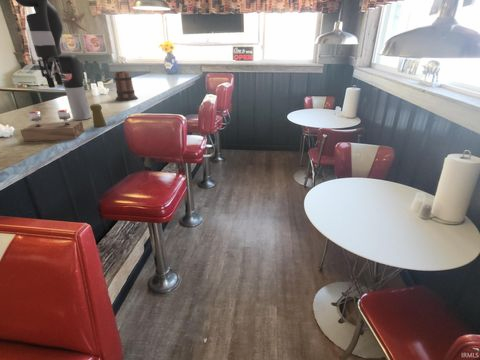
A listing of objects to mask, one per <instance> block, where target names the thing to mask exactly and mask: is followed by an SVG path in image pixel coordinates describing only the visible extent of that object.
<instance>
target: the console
mask: <svg viewBox="0 0 480 360" xmlns="http://www.w3.org/2000/svg"><path fill="white" fill-rule="evenodd" d="M39 124H40V127H37V126H36V123H35V122H34V123H33V124H30V125H28V126H26V127H24V128H22V129H20V133H21V136H22V139H23V142H25V143H26V142H38V141H39V142H41V141H42V142H44V141H58V139H61V140H75V139H77V138H78V137H80V136H81V135H82V134H83V133H84V132H85V128H84V124H83V121H82V120H76V121H68V124H69V125H66V126H65V123H64V121H61V122H60V121H59V122H39Z"/></svg>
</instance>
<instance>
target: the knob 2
mask: <svg viewBox="0 0 480 360" xmlns="http://www.w3.org/2000/svg"><path fill="white" fill-rule="evenodd" d="M57 114H58V118H59V120H63V122H64V123H65V126H66V125H69V124H68V122H69V121H68V119H71V114H70V110H68V109H60V110H59V109H58V111H57Z"/></svg>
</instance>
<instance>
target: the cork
mask: <svg viewBox="0 0 480 360" xmlns="http://www.w3.org/2000/svg"><path fill="white" fill-rule="evenodd" d="M89 110H90V111H91V112H92V123H93V127H94V128H102V127H103V128H104V127H106V126H107V123H106V120H105V117H104V114H103V112H102V105H101V104H100V103H92V104H91V105H89Z"/></svg>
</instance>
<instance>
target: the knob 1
mask: <svg viewBox="0 0 480 360" xmlns="http://www.w3.org/2000/svg"><path fill="white" fill-rule="evenodd" d="M27 115H28V117H29V121H31V122H34V124H35V123H36V126H37V127H40V124H39V123H40V121H42V120H43V118H42V114H41V112H40V111H39V110H32V111H29V112H27Z"/></svg>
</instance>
